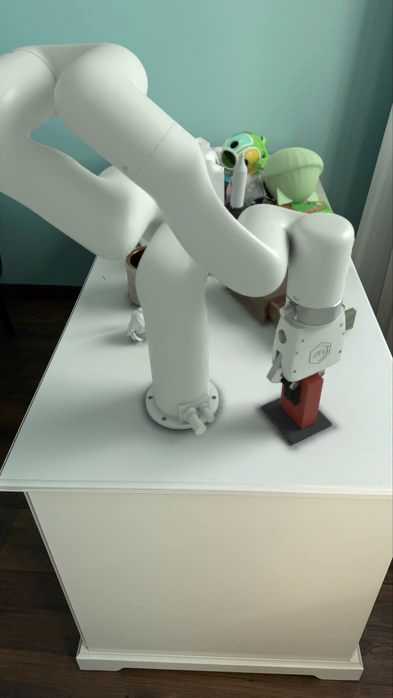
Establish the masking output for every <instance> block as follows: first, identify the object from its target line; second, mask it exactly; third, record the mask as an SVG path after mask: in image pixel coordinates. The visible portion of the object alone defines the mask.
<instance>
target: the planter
mask: <svg viewBox="0 0 393 698" xmlns="http://www.w3.org/2000/svg"><path fill="white" fill-rule="evenodd" d="M146 247H147V246H140V247H137V248H136V247H135V248H134V249H133V250H132V252H131V253H130V254H129V255H127V256H126V257H124V262H125V271H126V278H127V287H128V293H129V294H128V295H129V298H130V300H131V301H132V303H134V304H135V305H137V306H139V307H141V305H140V302H139V299H138V296H137V292H136V286H135V278H136V272H137V268H138V265H139V262H140V260H141V257H142V255H143V253H144V251H145V249H146Z"/></svg>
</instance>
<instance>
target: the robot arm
mask: <svg viewBox="0 0 393 698" xmlns="http://www.w3.org/2000/svg"><path fill="white" fill-rule="evenodd" d="M148 82H149V81H148V76H147V72H146V69H145V67H144V65H143V63H142V62H141V60H140V59H139V58H138V56H137V55H136V54H135V53H133V52H132V51H131V50H129V48H126V47H125V46H122V45H120V44H117V43H113V42H87V43H86V42H85V43H84V42H83V43H65V44H39V45H38V44H37V45H25V46H20V47H16V48H13V49H11V50H9V51H7V52H5V53H3V54H0V192H1V193H2V194H4V195H6V196H8V197H9V198H11V199H13V200H15V201H16V202H18V203H19V204H21V205H22V206H25V207H26V208H28V209H29V210H31V211H32V212H34V213H35V214H36V215H38V216H39V217H41V218H42V219H43V220H44V221H46V222H47V223H49V224H50V225H51V226H53V227H55V228H56V229H58V230H59V231H60V232H62V233H63V234H64V235H66V236H67V237H69V238H70V239H72V240H73V241H75V243H77V244H79V245H81V246H82V247H83V248H85V249H86V250H88V251H89V252H91V253H92V254H94V255H95V256H96V257H99V258H101V259H103V260H107V261H111V262H112V261H120V260H123V259H125V258H126V256H127V255H129V254H130V253H131V252H132V250H134V249H136V247H137V245H138V244H139V240H140V239H141V237H142V238H143V239H145V240H146V241H147V242H149V244H148V246H147V247H146V249H145V251H144V253H143V255H142V257H141V260H140V262H139V265H138V268H137V272H136V278H135V286H136V292H137V296H138V299H139V302H140V305H141V306H140V307H141V308H142V311H143V316H144V321H145V328H146V333H145V335H146V340H147V349H148V357H149V364H150V365H149V366H150V374H151V380H152V381H151V382H152V385H151V386H150V388H148V390H147V393H146V396H145V406H146V411H147V413H148V415H149V416H150V417H151V419H152V420H153V421H155V422H156V424H159V425H161V426H163V427H165V428H168V429H174V430H188V429H192V430H193V431H194V433H195V434H196V435H197V436H200V435H203V434H204V433H205V432H206V431H207V426H206V424H205V423H206V422H207V423H213V422H214V421H215V419H216V417H215V414H216V412H217V410H218V407H219V401H220V400H219V393H218V389H217V387H216V385H215V384H214V383H213V382H211V380H210V353H209V352H210V350H209V347H210V346H209V345H210V344H209V318H208V309H207V304H206V288H207V281H208V277H209V275H211V276H212V277H214V279H216V280H217V281H219V282H220V283H221V284H223V285H224V286H225V287H226V288H227V287H228V288H230V289H232V290H234V291H235V292H237V293H240V294H242V295H245V296H250V297H261V296H266V295H268V294H270V293H272V292H274V291H275V290H276V289H277V288H278V287H279V286H280V285H281V283H282V282H283V280H284V278H285V275H286V270H287V265H288V267H289V271H288V281H287V291H286V302H285V306H284V307H282V308H280V314H281V317H280V319H279V323H278V325H276V331H275V334H274V339H273V340H274V341H273V345H272V353H271V363H272V366H271V367H270V369H269V371H268V373H267V374H266V376H265V377H266V379H267V380H268V381H269V382H270V383H271V384H281V385H282V384H284V390H283V395H284V397H285V398H286V399H287V400H289V401H290V402H291V403H292V404H293V405H294V406H296V405H298V402H299V395H300V387H299V386H298V383H299V380H301V379H303V378H305V377H308V376H310V375H312V374H315V373H318V374H319V375H320V376H321V377H322V378H323V377H324V375H325V373H326V369H328V368H330V367H333V366H334V365H335V364H337V363H338V362H339V361H341V358H342V355H343V350H344V344H345V336H346V331H345V313H344V311H345V309H344V308H343V306H342V304H343V300H344V293H345V288H346V284H347V279H348V274H349V268H350V263H351V258H352V252H353V248H354V246H353V242H354V238H355V230H354V229H355V228H354V226H353V225H352V223H351V222H350V221H349V220H348V219H347V218H345V217H344V216H341V215H339V214H336V213H334V214H332V213H325V212H319V213H311V214H308V213H303V212H298V211H294V210H290V209H286V208H283V207H279V205H276V204H270V203H262V204H257V205H253V206H250V207H248V208H247V209H245V210H244V211H243V212H242V213H241V214H240V216H239V218H238V220H236V219H235V218H234V217H233V216H232V215H231V214H230V212H229V211H228V210H227V209H226V207H225V204H224V205H223V204H222V202H221V200H220V199H219V197H218V196H217V194H216V192H215V190H214V188H213V186H212V183H211V181H210V178H209V175H208V171H207V167H206V163H205V160H204V156H203V153H202V151H201V148H200V146H199V144H198V142H197V141H196V139H195V138H196V137H194V136H193V135H192V134H191V133H190V132H188V131H187V130H186V129H185V128H184V127H183V126H182V125H180V124H179V123H178V122H177V121H176V120H174V118H172V117H171V116H170V115H169V114H168V113H166V112H165V111H164V110H163V109H162V108H161V107H160V106H158V105H157V104H156V103H155V102H154V101H153V100H152V99H151V98H149V97H148V96H147V94H148V87H149V85H148V84H149V83H148ZM54 117H58V118H59V119H60V121H61V123H63V125H64V126H65V127H66V128H67V129H68V130H69V131H70V132H71V133H72V134H73V135H75V136H76V137H77V138H79V139H80V141H82V142H84V144H85V145H86V146H88V147H90V148H91V149H92V150H93V151H94V152H96V153H97V154H98V155H100V156H101V158H103V159H104V160H106V162H108V163H109V164H110V165H111V166H108V167H106V168H105V169H104V170H103V171H102V172H101V173H99V174H98V175H96V174H95V173H94V172H92V171H90V170H89V169H87V168H86V167H85V166H83V165H82V164H81V163H79V162H78V161H77V160H76V159H74V158H73V157H71V156H70V155H68V154H67V153H65V152H63V151H61V150H59V149H57V148H54V147H52V146H49V145H45V144H42V143H40V142H37V141H36V140H34V139H33V138H32V137H31V133H32V132H33V131H35V130H36V129H38V127H40V126H41V125H42V124H43V123H44V122H46V121H47V120H49V118H54ZM269 204H270V205H269ZM354 243H355V242H354Z"/></svg>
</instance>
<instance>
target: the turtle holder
mask: <svg viewBox="0 0 393 698" xmlns="http://www.w3.org/2000/svg"><path fill="white" fill-rule="evenodd" d="M267 142H268V140H267V137H266V136H265V135H264V134H262V135H260V137H259V136H258V135H257V134H255V133H254V132H253V131H248V130H244V131H241V132H237V133H234V134H232V135H230V136H229V137H228V138H227V139H226V140H225V141H224V142H223V145H222V146H221V147H222V151H221V153H220V162H221V164H222V166H223V167H224V169H226V170H227V171H228V172H229V173H231V174H233V173H234V167H235V166H236V165H237V164H238V162H239V159H240V157H241V155H240V154H241V153H244V161H245V165H246V167H247V172H248V173H251V174H254V175H256V174H257V173H260V172H262V171H263V170H264V169H265V164H266V161H267V159H268V157H269V156H270V154H268V152H267V148H266V146H267V144H268V143H267Z"/></svg>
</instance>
